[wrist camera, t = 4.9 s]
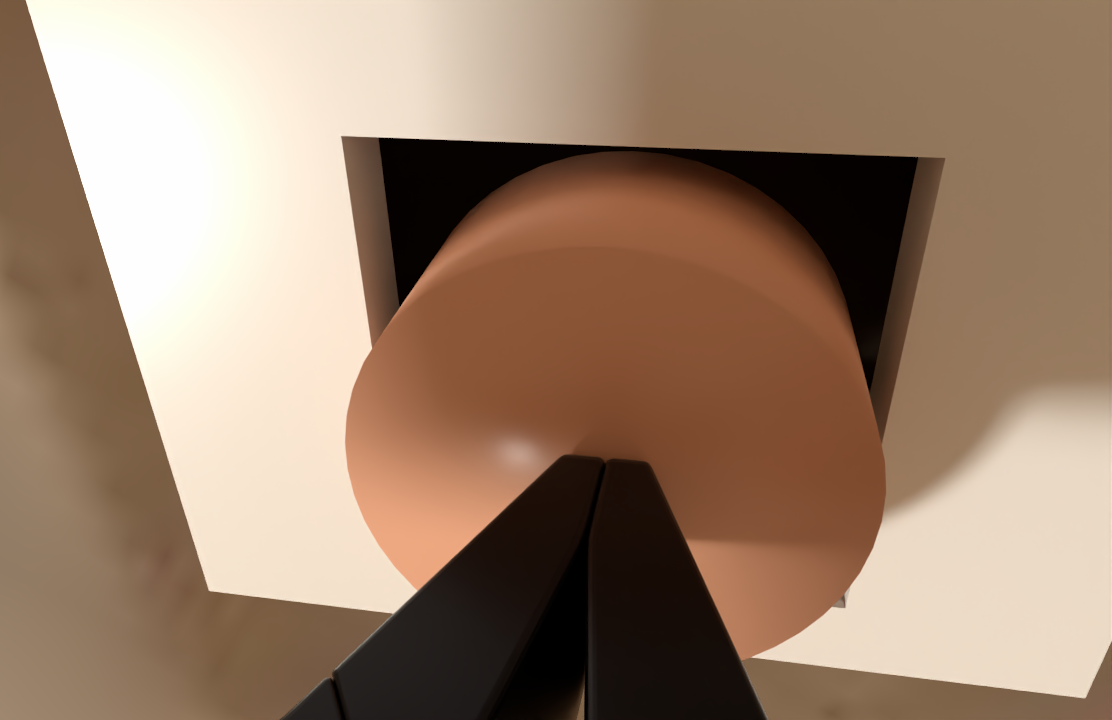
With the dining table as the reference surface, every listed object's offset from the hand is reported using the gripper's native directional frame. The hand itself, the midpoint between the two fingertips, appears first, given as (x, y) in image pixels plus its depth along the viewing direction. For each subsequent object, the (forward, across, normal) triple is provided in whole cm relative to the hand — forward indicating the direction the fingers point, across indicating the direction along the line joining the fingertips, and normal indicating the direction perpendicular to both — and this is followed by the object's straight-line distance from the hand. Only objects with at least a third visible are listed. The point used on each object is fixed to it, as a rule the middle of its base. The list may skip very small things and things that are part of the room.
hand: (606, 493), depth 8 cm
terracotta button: (+3, 0, 0) cm, 3 cm away
